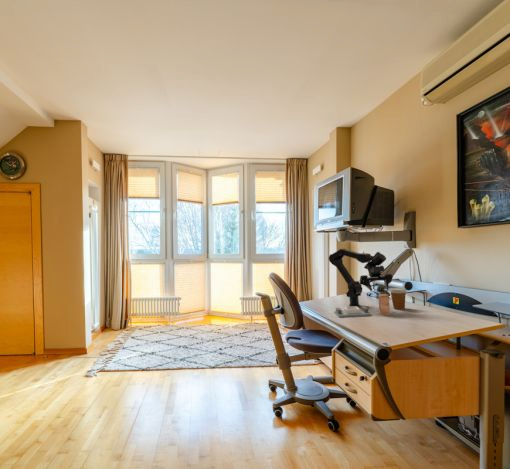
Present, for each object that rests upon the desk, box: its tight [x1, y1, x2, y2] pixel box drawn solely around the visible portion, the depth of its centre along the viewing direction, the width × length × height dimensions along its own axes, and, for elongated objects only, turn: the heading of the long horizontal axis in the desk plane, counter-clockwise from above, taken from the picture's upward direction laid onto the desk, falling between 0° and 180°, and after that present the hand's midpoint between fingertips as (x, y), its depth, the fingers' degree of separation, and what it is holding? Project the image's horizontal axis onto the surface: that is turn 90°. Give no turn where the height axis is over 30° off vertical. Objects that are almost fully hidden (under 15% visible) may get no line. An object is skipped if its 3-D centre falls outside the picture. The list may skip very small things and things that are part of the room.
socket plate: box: [334, 306, 372, 318], centre depth 207 cm, size 14×18×4 cm
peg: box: [377, 293, 391, 316], centre depth 202 cm, size 4×4×11 cm
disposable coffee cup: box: [389, 287, 407, 310], centre depth 216 cm, size 10×10×12 cm
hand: (379, 290), depth 209 cm, fingers open, 9 cm apart
